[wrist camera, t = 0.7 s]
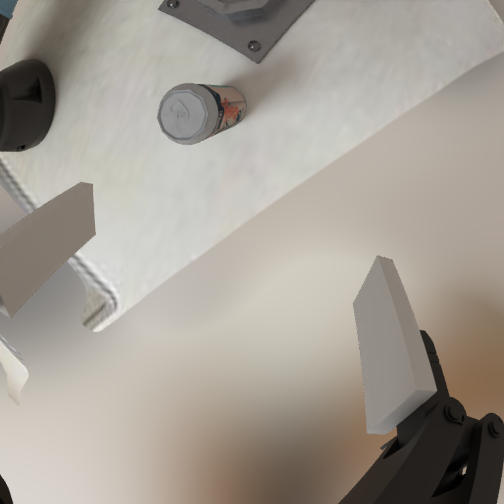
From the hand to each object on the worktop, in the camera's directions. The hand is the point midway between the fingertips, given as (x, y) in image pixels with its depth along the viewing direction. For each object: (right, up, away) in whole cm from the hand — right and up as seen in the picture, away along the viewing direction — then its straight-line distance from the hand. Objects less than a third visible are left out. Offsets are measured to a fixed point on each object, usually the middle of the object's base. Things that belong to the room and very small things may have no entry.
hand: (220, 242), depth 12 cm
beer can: (-2, +15, +17) cm, 23 cm away
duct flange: (0, +28, +9) cm, 29 cm away
